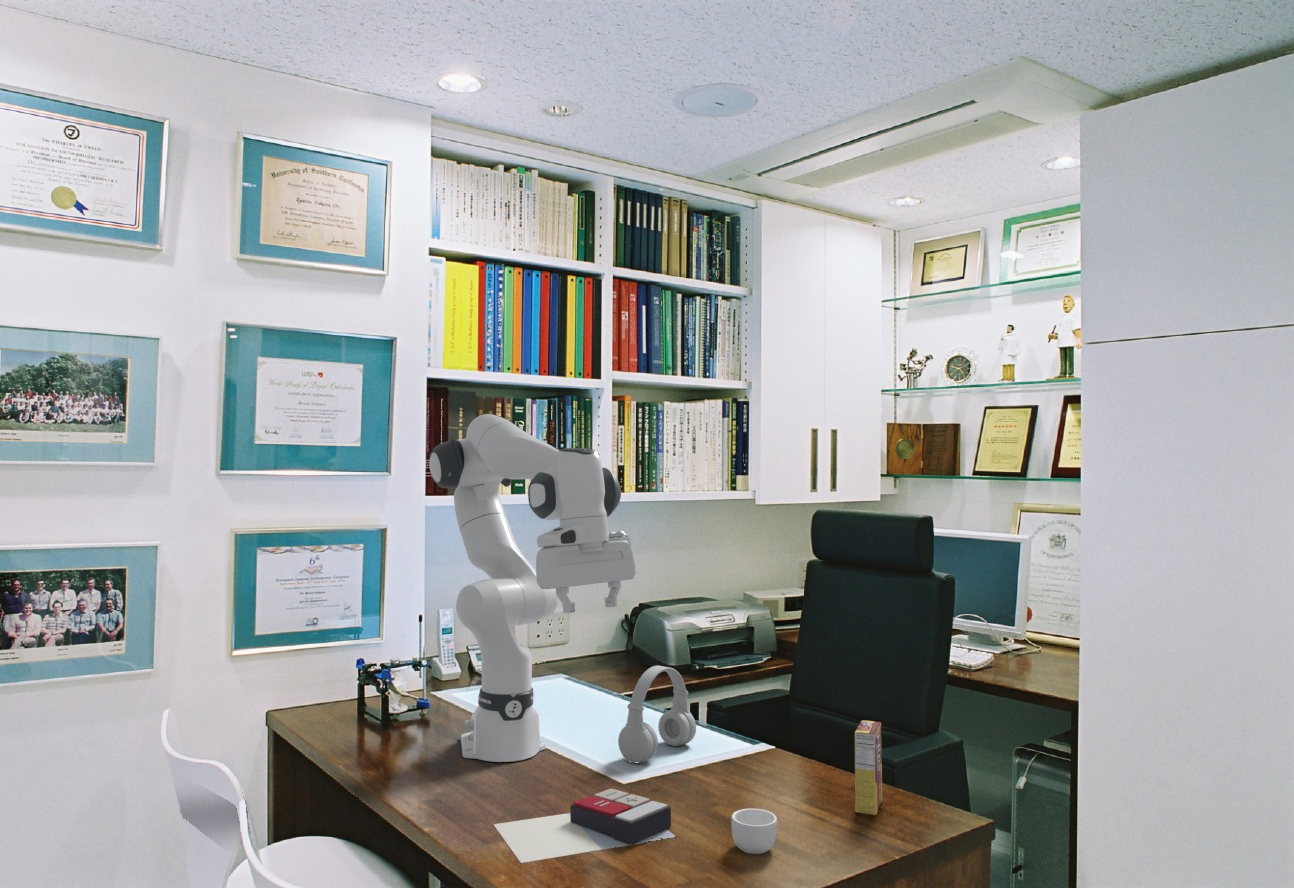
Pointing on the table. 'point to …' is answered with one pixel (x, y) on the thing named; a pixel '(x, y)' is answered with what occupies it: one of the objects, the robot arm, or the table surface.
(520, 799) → the table surface
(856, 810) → the candy box
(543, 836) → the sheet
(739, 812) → the teacup
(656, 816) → the calculator
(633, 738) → the headphones
